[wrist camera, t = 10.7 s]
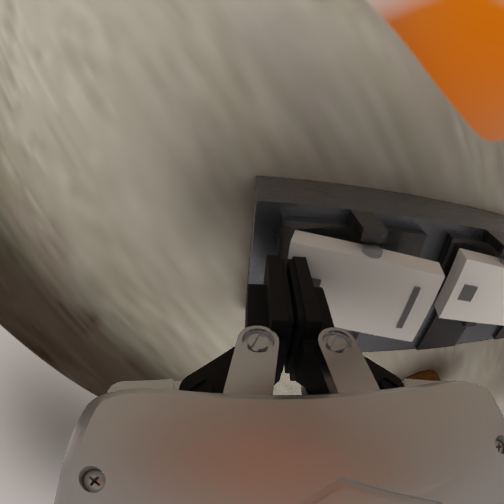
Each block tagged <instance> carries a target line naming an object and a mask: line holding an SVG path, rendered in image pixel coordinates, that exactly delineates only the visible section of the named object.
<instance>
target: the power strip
mask: <svg viewBox="0 0 504 504" xmlns="http://www.w3.org/2000/svg"><path fill="white" fill-rule="evenodd" d="M295 230H298V231H303V232H308V233H313V234H317V235H322V236H327V237H331V238H336V239H341V240H345V241H350V242H354V243H359V244H363V245H364V244H367V243H370V244H375V245H377V246H379V247H380V248H381V249H385V250H389V251H394V252H398V253H402V254H406V255H410V256H415V257H419V258H423V259H427V260H431V261H435V262H439V264H440V266H441V268H442V270H443V273H444V275H445V278H444V280H443V282H442V285H441V287H440V289H439V291H438V293H437V295H436V297H435V300H434V302H433V304H432V306H431V308H430V310H429V312H428V314H427V315H426V317H425V319H424V321H423V323H422V325H421V327H420V329H419V330H418V332H417V334H416V336H415V338H414V339H413V341H412V342H409V341H404V340H398V339H393V338H387V337H382V336H377V335H372V334H367V333H362V332H357V331H348V332H349V333H350V334H351V335H352V336H353V337H354V339H355V341H356V342H357V344H358V346H359V348H360V350H361V352H374V351H392V350H406V349H417V350H421V349H431V348H440V347H448V346H455V344H462V343H469V342H476V341H482V340H488V339H494V340H495V339H500V338H504V326H502V325H493V324H484V323H481V324H477V323H475V322H467V321H459V320H451V319H443V318H439V317H438V314H437V312H436V309H435V306H434V304H435V302H436V300H437V298H438V296H439V294H440V292H441V290H442V287H443V285H444V283H445V281H446V279H447V276H448V274H449V272H450V270H451V267H452V265H453V262H454V260H455V258H456V255H457V253H458V250H459V248H462V249H466V250H470V251H474V252H478V253H482V254H486V255H490V256H494V257H498V258H501V257H504V215H501V214H497V213H493V212H489V211H485V210H480V209H476V208H472V207H468V206H463V205H459V204H454V203H449V202H444V201H440V200H435V199H430V198H424V197H419V196H414V195H408V194H402V193H396V192H390V191H384V190H378V189H371V188H364V187H357V186H350V185H343V184H335V183H327V182H318V181H309V180H299V179H289V178H278V177H266V176H256V186H255V198H254V210H253V223H252V235H251V248H250V260H249V273H248V284H263V282H264V273H265V264H266V256H267V255H279V256H280V259H284V260H285V265H287V260H288V254H289V248H290V242H291V239H292V237H293V234H294V232H295ZM247 287H248V285H247ZM246 300H247V298H246ZM245 322H246V311H245ZM341 329H342V328H341ZM346 331H347V330H346Z"/></svg>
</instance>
